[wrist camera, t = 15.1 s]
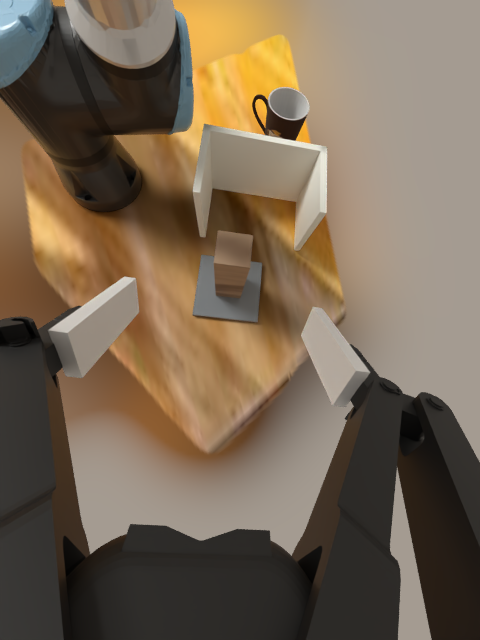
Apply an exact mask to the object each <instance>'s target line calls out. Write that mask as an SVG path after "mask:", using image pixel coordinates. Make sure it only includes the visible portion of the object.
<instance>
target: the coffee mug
mask: <svg viewBox="0 0 480 640" xmlns="http://www.w3.org/2000/svg"><path fill="white" fill-rule="evenodd" d="M257 99H262V100H263V101H264V102H265V104H266V107H267V117H266V128H265V127H264V125H263V124H262V122H261V120H260V119H259V117H258V115H257V112H256V108H255V102H256V100H257ZM252 107H253V111H254V114H255V117H256V119H257V121H258V123H259V125H260V126H261V128H262V130H263V131H264V133H265V135H266V136H272V137H277V138H282V139H287V140H293V141H295V140H296V138H297V136H298V134H299V132H300V130H301V127H302V125H303V123H304V121H305V119H306V116H307V114H308V112H309V109H310V105H309V102H308V100H307V98H306V97H305V96H304V95H303V94H302V93H301V92H300V91H298V90H296V89H293V88H289V87H280V88H277V89H275V90H273V91H272V92H271V93H270V95H269V98H268V100H267V99H266V98H265V96H263V95H256V96H255V97H254V100H253V103H252Z"/></svg>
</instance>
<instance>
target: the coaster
mask: <svg viewBox="0 0 480 640" xmlns="http://www.w3.org/2000/svg"><path fill="white" fill-rule="evenodd" d="M261 272H262V263H259V262H251V264H250V270H249V273H248V276H247V279H246V282H245V285H244V288H243V291H242V294H241V297H240V298H232V297H223V296H216V293H215V277H214V256H208V255H201V261H200V268H199V275H198V282H197V288H196V295H195V302H194V309H193V315H194V316H203V317H211V318H220V319H229V320H238V321H247V322H255V323H257V322H258V310H259V298H260V285H261Z"/></svg>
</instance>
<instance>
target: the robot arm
mask: <svg viewBox="0 0 480 640" xmlns="http://www.w3.org/2000/svg"><path fill="white" fill-rule="evenodd" d="M65 6H66V7H59V6H54V5H53V2H52V0H0V98H1V100H2V101H3V102H4V103H5V104H6V105H7V106H8V108H9V109H10V110H11V111H12V113H13V114H14V115H15V116H16V117H17V118H18V120H19V121H20V122H21V123H22V124H23V125H24V127H25V128H26V129H27V130H28V131H29V132H30V134H31V135H32V136H33V137H34V139H35V140H36V141H37V142H38V143H39V144H40V146H41V147H42V148H43V149H44V150H45V152H46V153H47V154H48V155H49V156H50V158H51V160H52V162H53V164H54V166H55V168H56V171H57V173H58V175H59V177H60V179H61V182H62V184H63V186H64V187H65V189H66V190H67V192H68V193H69V194H70V195H71V196H72V197H73V198H74V200H75V201H76V202H78V203H79V204H80V205H82V206H83V207H85V208H87V209H90V210H94V211H100V212H108V211H114V210H118V209H121V208H123V207H125V206H127V205H128V204H130V203H131V202H132V201H133V200H134V199H135V198H136V197H137V195H138V194H139V192H140V189H141V184H142V179H141V174H140V172H139V170H138V167H137V165H136V163H135V161H134V159H133V158H132V157H131V155H130V154H129V153H128V152H127V151H126V149H125V148H124V147H123V146H122V145H121V143H120V142H119V141H118V140H117V139H116V137H115V136H114V135H141V134H168V135H171V134H173V133H176V132H184V131H187V130H188V129H189V128H190V126H191V124H192V119H193V104H194V95H193V83H192V58H191V48H190V41H189V34H188V28H187V24H186V20H185V18H184V16H183V14H182V13H180V12H178V11H177V10H175V9H174V5H173V1H172V0H65ZM138 313H139V305H138V295H137V285H136V278H130V277H123V278H122V279H120V280H119V281H118V282H116V283H115V284H113V285H112V286H110V287H109V288H108V289H106V290H105V291H103V292H102V293H100V294H99V295H98V296H96V297H95V298H93V299H92V300H90V301H89V302H88V303H86V304H85V305H83V306H77V307H74V308H71V309H69V310H67V311H66V312H64V313H62V314H61V316H58V317H56V318H55V320H52V321H50V322H49V323H47V324H46V325H44V326H43V327H41V328H40V329H38V330H37V328H36V325H35V323H34V321H33V319H31V318H28V317H11V318H6V319H2V320H0V640H398V622H399V602H400V582H401V579H400V568H399V565H398V561H397V560H396V559H395V558H394V557H393V556H392V555H391V552H390V537H391V526H392V515H393V503H394V492H395V481H396V470H397V468H398V473H399V478H400V482H401V488H402V493H403V498H404V503H405V508H406V513H407V518H408V523H409V528H410V533H411V538H412V543H413V548H414V553H415V558H416V563H417V568H418V573H419V578H420V583H421V588H422V593H423V598H424V603H425V608H426V613H427V618H428V624H429V628H430V633H431V638H432V640H480V462H479V460H478V459H477V457H476V455H475V453H474V451H473V449H472V448H471V446H470V444H469V442H468V440H467V438H466V437H465V435H464V433H463V431H462V429H461V427H460V425H459V424H458V422H457V420H456V418H455V416H454V414H453V412H452V411H451V409H450V408H449V407H448V406H447V405H446V404H445V403H444V402H443V401H442V400H441V399H439V398H438V397H436V396H433V395H431V394H428V393H425V392H421V393H420V394H419V395H418V396H417V397H416V398H414V397H411V396H408V395H405V394H403V393H402V391H401V389H399V387H398V386H397V385H396V384H394V383H393V382H391V381H389V380H387V379H385V378H381V377H379V376H378V374H377V373H376V372H375V371H374V369H373V368H372V367H371V366H370V364H369V363H368V362H367V360H366V359H365V358H364V357H363V355H362V354H361V353H360V351H359V350H358V349H357V348H355V347H354V346H353V345H351V344H349V343H348V342H347V341H346V340H345V338H344V337H343V335H342V334H341V333H340V331H339V330H338V329H337V327H336V326H335V325H334V323H333V322H332V321H331V319H330V318H329V317H328V315H327V314H326V313H325V311H324V310H323V309H322V308H317V307H313V308H312V310H311V312H310V315H309V317H308V320H307V322H306V324H305V327H304V329H303V332H302V334H301V337H302V339H303V341H304V344H305V346H306V348H307V350H308V352H309V355H310V357H311V359H312V361H313V363H314V365H315V368H316V370H317V372H318V375H319V377H320V379H321V381H322V384H323V386H324V388H325V390H326V392H327V394H328V397H329V399H330V401H331V404H332V406H339V407H346V405H347V404H348V403H349V401H350V400H351V402H352V404H353V405H354V407H353V408H352V410H351V411H350V412H349V413H348V415H347V416H346V418H345V419H346V420H347V422H346V424H345V427H344V430H343V432H342V435H341V437H340V440H339V443H338V446H337V448H336V451H335V454H334V456H333V458H332V461H331V464H330V466H329V469H328V472H327V474H326V477H325V480H324V482H323V485H322V487H321V490H320V493H319V496H318V498H317V501H316V503H315V506H314V508H313V511H312V514H311V516H310V519H309V522H308V524H307V527H306V529H305V532H304V534H303V536H302V537H301V539H300V541H299V542H298V544H297V546H296V548H295V550H294V552H293V554H292V556H291V555H290V554H289V553H288V552H287V551H285V550H284V549H283V548H282V547H281V546H279V545H277V544H276V543H274V542H272V541H270V531H266V530H245V529H236V530H233V531H230V532H227V533H224V534H221V535H218V536H216V537H212V538H209V539H206V540H204V541H199V540H196V539H194V538H192V537H190V536H187V535H185V534H183V533H181V532H179V531H176V530H174V529H172V528H170V527H167V526H158V525H136V524H130V527H129V529H128V532H127V534H126V535H123V536H120V537H118V538H116V539H113V540H111V541H110V542H108V543H106V544H105V545H103V546H101V547H100V548H98V549H97V550H96V551H94V552H93V553H92V554H90V552H89V547H88V542H87V538H86V534H85V531H84V529H83V525H82V521H81V516H80V510H79V504H78V497H77V492H76V485H75V479H74V473H73V467H72V461H71V454H70V448H69V442H68V436H67V430H66V424H65V418H64V412H63V406H62V399H61V393H60V387H59V381H58V377H57V375H56V373H57V372H58V371H59V370H60V369H61V368H63V370H64V373H65V375H66V376H70V377H78V378H83V376H84V375H85V374H86V373H87V372H88V371H89V370H90V368H91V367H92V366H93V365H94V364H95V363H96V361H97V360H98V359H99V358H100V357H101V356H102V355H103V353H104V352H105V351H106V350H107V349H108V348H109V346H110V345H111V344H112V343H113V342H114V341H115V339H116V338H117V337H118V336H119V335H120V334H121V333H122V331H123V330H124V329H125V328H126V327H127V326H128V324H129V323H130V322H131V321H132V320H133V319H134V317H135V316H136V315H137V314H138Z"/></svg>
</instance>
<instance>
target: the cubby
mask: <svg viewBox="0 0 480 640" xmlns="http://www.w3.org/2000/svg"><path fill="white" fill-rule="evenodd" d="M213 188H214V189H220V190H226V191H232V192H238V193H244V194H250V195H256V196H263V197H269V198H275V199H281V200H287V201H293V202H296V216H295V239H294V250H296V251H299V250H300V249H301V248H302V246H303V245H304V244H305V242H306V241H307V239H308V238H309V237H310V235H311V234H312V233H313V231H314V230H315V228H316V227H317V226H318V224H319V223H320V222H321V220H322V219H323V217H324V216H325V215H326V213H327V147H325V146H319V145H314V144H309V143H303V142H298V141H293V140H287V139H282V138H277V137H272V136H266V135H261V134H256V133H250V132H245V131H240V130H234V129H229V128H224V127H218V126H213V125H208V124H204V128H203V133H202V139H201V145H200V151H199V157H198V163H197V169H196V175H195V180H194V186H193V197H194V203H195V210H196V216H197V222H198V228H199V234H200V237H206V230H207V223H208V216H209V209H210V202H211V196H212V189H213Z"/></svg>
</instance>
